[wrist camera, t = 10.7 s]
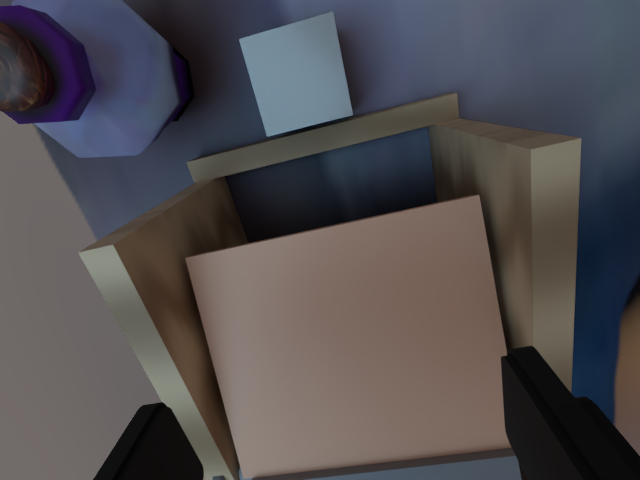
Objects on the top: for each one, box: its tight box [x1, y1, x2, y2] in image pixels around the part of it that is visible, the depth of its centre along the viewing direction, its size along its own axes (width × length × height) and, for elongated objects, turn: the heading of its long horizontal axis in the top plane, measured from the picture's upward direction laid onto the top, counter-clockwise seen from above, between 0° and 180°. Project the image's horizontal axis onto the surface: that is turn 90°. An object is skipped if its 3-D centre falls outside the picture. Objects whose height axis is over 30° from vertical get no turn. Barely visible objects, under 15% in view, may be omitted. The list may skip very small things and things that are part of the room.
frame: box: [79, 93, 581, 480], centre depth 22 cm, size 25×18×14 cm
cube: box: [239, 11, 353, 137], centre depth 20 cm, size 5×5×5 cm
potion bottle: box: [0, 0, 194, 158], centre depth 18 cm, size 9×9×12 cm
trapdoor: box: [185, 195, 521, 480], centre depth 18 cm, size 18×14×4 cm
